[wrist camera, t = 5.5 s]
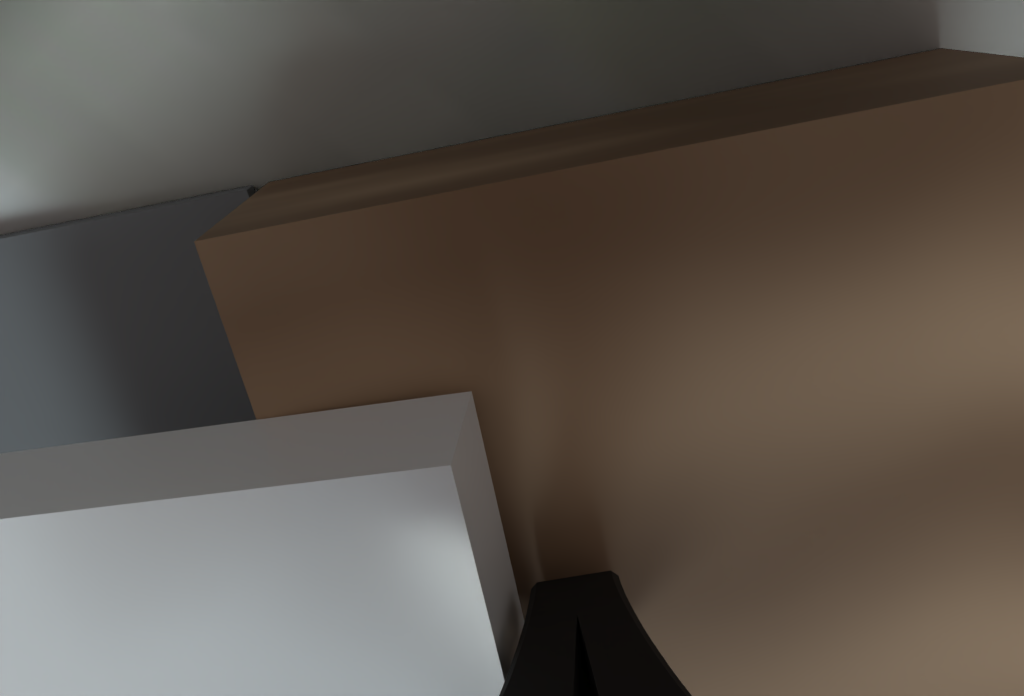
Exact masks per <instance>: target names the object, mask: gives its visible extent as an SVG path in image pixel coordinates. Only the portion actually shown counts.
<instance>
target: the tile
mask: <svg viewBox="0 0 1024 696" xmlns="http://www.w3.org/2000/svg"><path fill="white" fill-rule="evenodd" d="M523 625H524V618H523V613H522V609H521V605H520V600H519V596H518V592H517V587H516V583H515V579H514V574H513V570H512V565H511V561H510V557H509V552H508V548H507V544H506V539H505V535H504V531H503V526H502V522H501V517H500V513H499V509H498V504H497V500H496V496H495V491H494V487H493V483H492V478H491V474H490V469H489V465H488V461H487V456H486V452H485V448H484V443H483V439H482V435H481V430H480V426H479V421H478V417H477V413H476V408H475V404H474V400H473V395H472V391H470V392H462V393H454V394H447V395H439V396H432V397H424V398H417V399H409V400H402V401H394V402H387V403H379V404H371V405H364V406H356V407H349V408H341V409H334V410H326V411H319V412H311V413H304V414H296V415H288V416H281V417H273V418H266V419H258V420H251V421H243V422H236V423H228V424H221V425H213V426H205V427H198V428H190V429H183V430H175V431H168V432H160V433H153V434H145V435H138V436H130V437H122V438H115V439H107V440H100V441H92V442H85V443H77V444H70V445H62V446H55V447H47V448H39V449H32V450H24V451H17V452H9V453H2V454H0V696H499V695H500V692H501V690H502V687H503V685H504V682H505V679H506V677H507V674H508V671H509V668H510V665H511V662H512V660H513V657H514V654H515V651H516V648H517V645H518V642H519V639H520V635H521V632H522V629H523Z"/></svg>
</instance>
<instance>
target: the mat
mask: <svg viewBox="0 0 1024 696" xmlns="http://www.w3.org/2000/svg"><path fill="white" fill-rule="evenodd" d="M254 193H255V190H254V187H253V185H251V186H246V187H241V188H236V189H231V190H226V191H221V192H216V193H211V194H206V195H201V196H196V197H191V198H186V199H181V200H176V201H171V202H166V203H161V204H156V205H151V206H146V207H141V208H136V209H131V210H126V211H121V212H116V213H111V214H106V215H101V216H96V217H91V218H86V219H81V220H76V221H70V222H65V223H60V224H55V225H50V226H45V227H40V228H35V229H30V230H25V231H20V232H15V233H10V234H5V235H0V454H2V453H9V452H17V451H24V450H32V449H39V448H47V447H55V446H62V445H70V444H77V443H85V442H92V441H100V440H107V439H115V438H122V437H130V436H138V435H145V434H153V433H160V432H168V431H175V430H183V429H190V428H198V427H205V426H213V425H221V424H228V423H236V422H243V421H251V420H256V417H255V414H254V411H253V408H252V405H251V402H250V400H249V397H248V394H247V391H246V388H245V385H244V383H243V380H242V377H241V374H240V371H239V368H238V365H237V363H236V360H235V357H234V354H233V351H232V348H231V346H230V343H229V340H228V337H227V334H226V331H225V328H224V326H223V323H222V320H221V317H220V314H219V311H218V309H217V306H216V303H215V300H214V297H213V294H212V291H211V289H210V286H209V283H208V280H207V277H206V274H205V272H204V269H203V266H202V263H201V260H200V257H199V254H198V252H197V249H196V246H195V243H194V241H195V240H197V239H198V238H199V237H200V236H202V235H203V234H204V233H205V232H207V231H208V230H209V229H210V228H212V227H213V226H214V225H215V224H217V223H218V222H219V221H220V220H222V219H223V218H224V217H226V216H227V215H228V214H229V213H231V212H232V211H233V210H234V209H236V208H237V207H238V206H239V205H241V204H242V203H243V202H244V201H246V200H247V199H248V198H249V197H251V196H252V195H253V194H254Z"/></svg>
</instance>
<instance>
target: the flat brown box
mask: <svg viewBox="0 0 1024 696" xmlns="http://www.w3.org/2000/svg"><path fill="white" fill-rule="evenodd" d="M194 243H195V246H196V249H197V252H198V254H199V257H200V260H201V263H202V266H203V269H204V272H205V274H206V277H207V280H208V283H209V286H210V289H211V291H212V294H213V297H214V300H215V303H216V306H217V309H218V311H219V314H220V317H221V320H222V323H223V326H224V328H225V331H226V334H227V337H228V340H229V343H230V346H231V348H232V351H233V354H234V357H235V360H236V363H237V365H238V368H239V371H240V374H241V377H242V380H243V383H244V385H245V388H246V391H247V394H248V397H249V400H250V402H251V405H252V408H253V411H254V414H255V417H256V420H258V419H266V418H273V417H281V416H288V415H296V414H304V413H311V412H319V411H326V410H334V409H341V408H349V407H356V406H364V405H371V404H379V403H387V402H394V401H402V400H409V399H417V398H424V397H432V396H439V395H447V394H454V393H462V392H470V391H472V395H473V400H474V404H475V408H476V413H477V417H478V421H479V426H480V430H481V435H482V439H483V443H484V448H485V452H486V456H487V461H488V465H489V469H490V474H491V478H492V483H493V487H494V491H495V496H496V500H497V504H498V509H499V513H500V517H501V522H502V526H503V531H504V535H505V539H506V544H507V548H508V552H509V557H510V561H511V565H512V570H513V574H514V579H515V583H516V587H517V592H518V596H519V600H520V605H521V609H522V613H523V618H524V621H525V617H526V613H527V609H528V604H529V599H530V592H531V589H532V587H533V586H534V585H535V584H536V583H537V582H542V581H548V580H554V579H561V578H567V577H573V576H579V575H585V574H592V573H598V572H604V571H610V570H611V571H612V572H614V573H615V574H617V575H619V579H620V582H621V585H622V587H623V589H624V592H625V594H626V596H627V598H628V600H629V602H630V604H631V606H632V608H633V610H634V612H635V614H636V615H637V617H638V619H639V620H640V622H641V624H642V626H643V627H644V629H645V631H646V632H647V634H648V635H649V637H650V639H651V640H652V642H653V643H654V644H655V646H656V647H657V649H658V650H659V652H660V653H661V655H662V656H663V658H664V659H665V660H666V662H667V663H668V665H669V666H670V668H671V669H672V670H673V672H674V673H675V674H676V676H677V677H678V678H679V680H680V681H681V682H682V684H683V685H684V686H685V687H686V689H687V690H688V691H689V692H690V694H691V695H692V696H1024V58H1022V57H1014V56H1005V55H996V54H987V53H978V52H970V51H961V50H952V49H943V48H940V49H935V50H930V51H925V52H920V53H915V54H910V55H905V56H900V57H895V58H890V59H885V60H880V61H875V62H870V63H865V64H860V65H855V66H850V67H845V68H840V69H835V70H830V71H825V72H820V73H815V74H810V75H805V76H800V77H794V78H789V79H784V80H779V81H774V82H769V83H764V84H759V85H754V86H749V87H744V88H739V89H734V90H729V91H724V92H719V93H714V94H709V95H704V96H699V97H694V98H689V99H684V100H679V101H674V102H669V103H664V104H659V105H654V106H649V107H644V108H639V109H634V110H629V111H624V112H619V113H613V114H608V115H603V116H598V117H593V118H588V119H583V120H578V121H573V122H568V123H563V124H558V125H553V126H548V127H543V128H538V129H533V130H528V131H523V132H518V133H513V134H508V135H503V136H498V137H493V138H488V139H483V140H478V141H473V142H468V143H463V144H458V145H453V146H448V147H443V148H438V149H432V150H427V151H422V152H417V153H412V154H407V155H402V156H397V157H392V158H387V159H382V160H377V161H372V162H367V163H362V164H357V165H352V166H347V167H342V168H337V169H332V170H327V171H322V172H317V173H312V174H307V175H302V176H297V177H292V178H287V179H282V180H277V181H272V182H268V183H267V184H266V185H265V186H263V187H262V188H261V189H259V190H258V191H257V192H256V193H254V194H253V195H252V196H251V197H249V198H248V199H247V200H246V201H244V202H243V203H242V204H241V205H239V206H238V207H237V208H236V209H234V210H233V211H232V212H231V213H229V214H228V215H227V216H226V217H224V218H223V219H222V220H220V221H219V222H218V223H217V224H215V225H214V226H213V227H212V228H210V229H209V230H208V231H207V232H205V233H204V234H203V235H202V236H200V237H199V238H198V239H197V240H195V241H194Z"/></svg>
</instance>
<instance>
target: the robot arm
mask: <svg viewBox="0 0 1024 696" xmlns="http://www.w3.org/2000/svg"><path fill="white" fill-rule="evenodd" d="M499 696H692V695H691V694H690V692H689V691H688V690H687V689H686V687H685V686H684V685H683V684H682V682H681V681H680V680H679V678H678V677H677V676H676V674H675V673H674V672H673V670H672V669H671V668H670V666H669V665H668V663H667V662H666V660H665V659H664V658H663V656H662V655H661V653H660V652H659V650H658V649H657V647H656V646H655V644H654V643H653V642H652V640H651V639H650V637H649V635H648V634H647V632H646V631H645V629H644V627H643V626H642V624H641V622H640V620H639V619H638V617H637V615H636V614H635V612H634V610H633V608H632V606H631V604H630V602H629V600H628V598H627V596H626V594H625V592H624V589H623V587H622V585H621V582H620V579H619V575H617V574H615V573H614V572H612V571H611V570H610V571H604V572H598V573H592V574H585V575H579V576H573V577H567V578H561V579H554V580H548V581H542V582H537V583H536V584H535V585H534V586H533V587H532V589H531V592H530V599H529V604H528V609H527V613H526V617H525V621H524V625H523V629H522V632H521V635H520V639H519V642H518V645H517V648H516V651H515V654H514V657H513V660H512V662H511V665H510V668H509V671H508V674H507V677H506V679H505V682H504V685H503V687H502V690H501V692H500V695H499Z"/></svg>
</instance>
